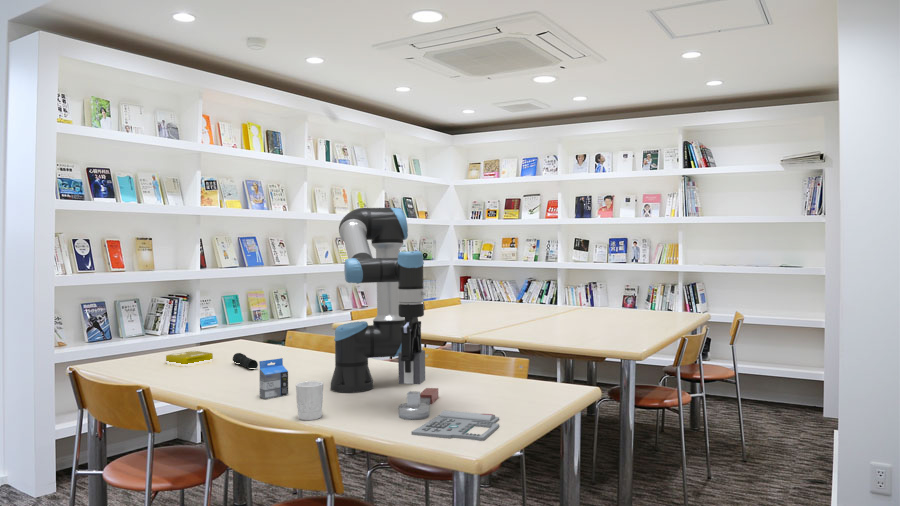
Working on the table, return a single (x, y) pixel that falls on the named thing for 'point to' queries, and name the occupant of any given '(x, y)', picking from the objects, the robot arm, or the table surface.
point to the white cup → (309, 400)
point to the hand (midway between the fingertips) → (412, 380)
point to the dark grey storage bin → (418, 366)
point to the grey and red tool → (418, 404)
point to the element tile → (189, 357)
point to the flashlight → (245, 360)
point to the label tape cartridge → (273, 379)
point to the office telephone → (458, 425)
